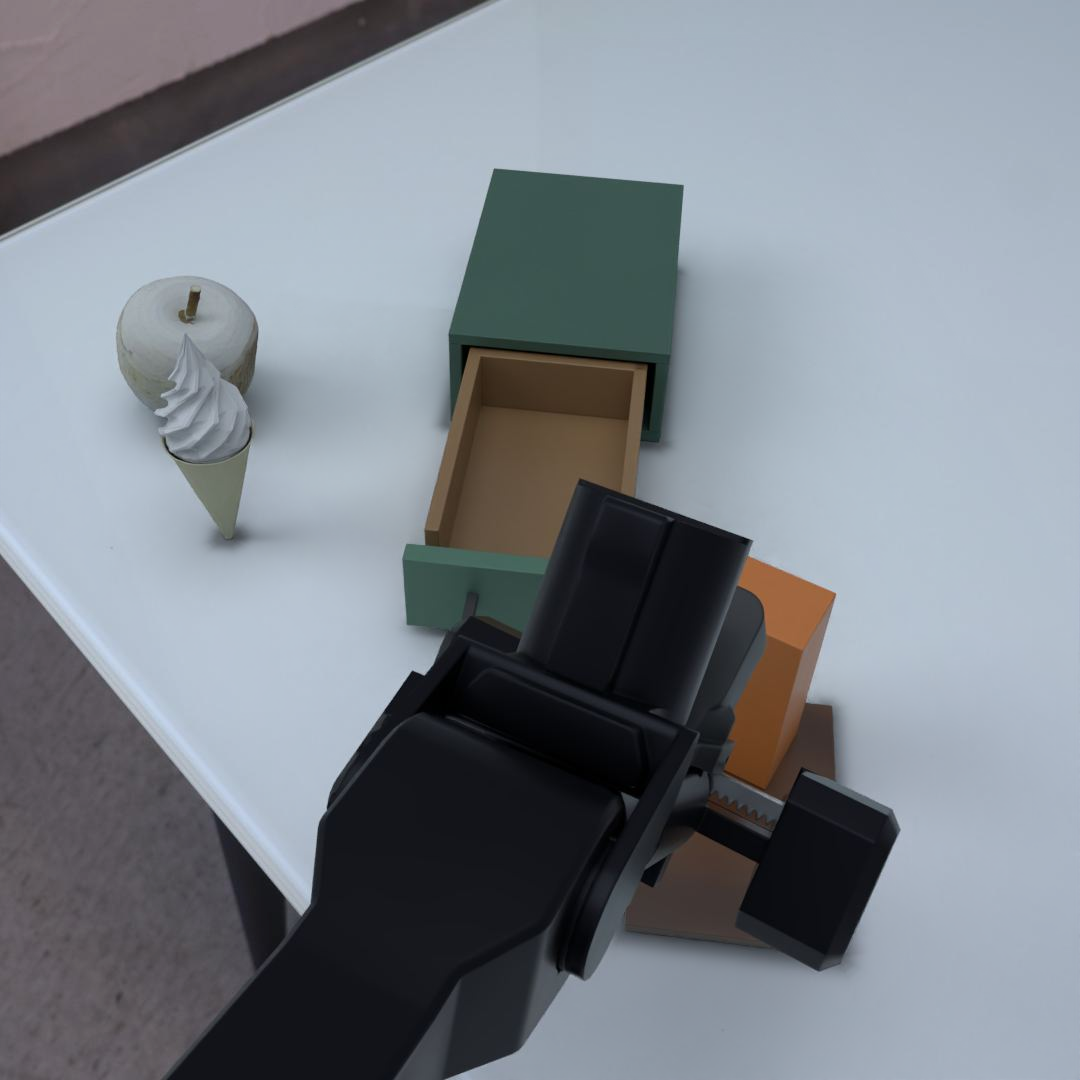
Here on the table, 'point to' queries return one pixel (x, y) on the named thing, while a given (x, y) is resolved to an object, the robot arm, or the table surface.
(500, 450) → the drawer
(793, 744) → the board
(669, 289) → the cabinet
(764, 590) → the orange rectangular prism
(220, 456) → the ice cream cone
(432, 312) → the table surface
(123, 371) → the decorative object
